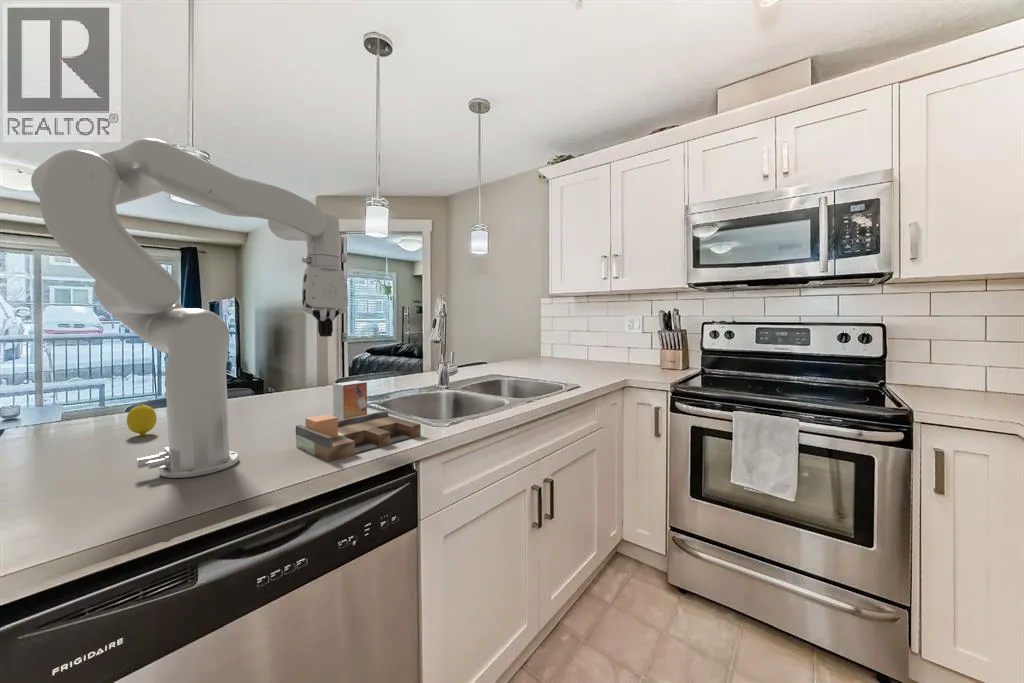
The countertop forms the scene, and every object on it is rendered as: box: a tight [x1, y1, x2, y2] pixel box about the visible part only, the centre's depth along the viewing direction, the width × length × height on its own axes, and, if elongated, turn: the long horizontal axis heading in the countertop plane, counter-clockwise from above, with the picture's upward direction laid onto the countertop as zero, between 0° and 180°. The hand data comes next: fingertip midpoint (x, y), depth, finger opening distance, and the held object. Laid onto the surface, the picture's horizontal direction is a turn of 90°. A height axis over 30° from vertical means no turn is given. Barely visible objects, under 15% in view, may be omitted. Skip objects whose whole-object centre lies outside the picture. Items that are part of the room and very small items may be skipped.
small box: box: [332, 380, 368, 420], centre depth 121 cm, size 8×6×10 cm
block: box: [304, 413, 338, 436], centre depth 93 cm, size 5×5×4 cm
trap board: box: [295, 410, 422, 463], centre depth 98 cm, size 24×15×5 cm, turn 141°
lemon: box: [126, 403, 158, 436], centre depth 102 cm, size 6×6×8 cm
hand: (325, 336), depth 104 cm, fingers closed
